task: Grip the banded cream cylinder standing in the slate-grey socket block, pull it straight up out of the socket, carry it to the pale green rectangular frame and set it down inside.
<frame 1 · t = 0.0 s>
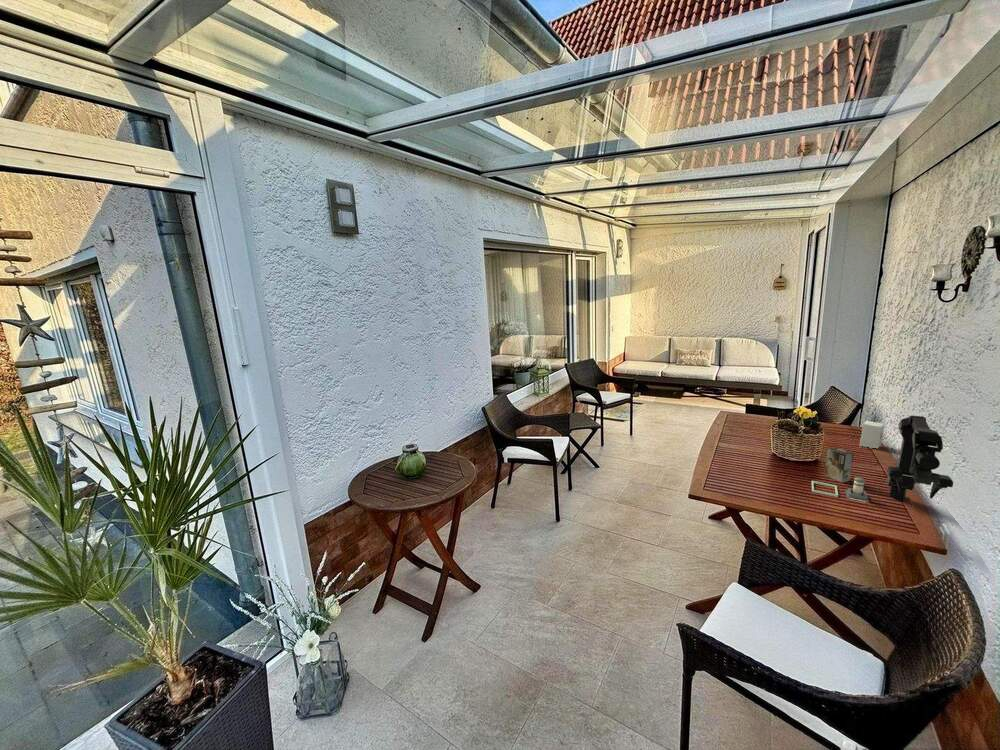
hand: (915, 495, 173), 15 cm above the table, fingers open, 9 cm apart
supplement box: (870, 446, 259), on the table
pale green rectangular frame: (824, 491, 207), on the table
coffee box: (836, 479, 219), on the table
banded cream cylinder: (856, 496, 200), point 1 cm above the table, touching socket block
socket block: (856, 497, 200), on the table
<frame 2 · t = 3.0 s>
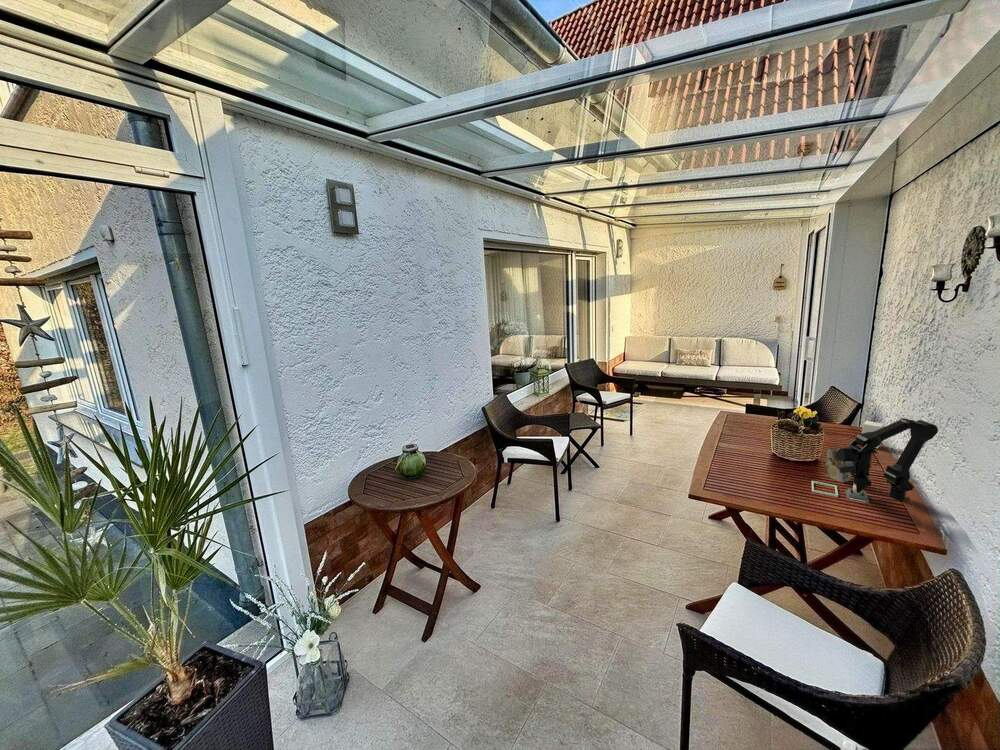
hand: (857, 491, 199), 4 cm above the table, fingers closed on banded cream cylinder, 4 cm apart
banded cream cylinder: (856, 496, 200), point 1 cm above the table, touching gripper, socket block
everything else where it was.
when the fingers open (4 cm above the table, at t = 6.6 s): banded cream cylinder stays where it is, resting on pale green rectangular frame.
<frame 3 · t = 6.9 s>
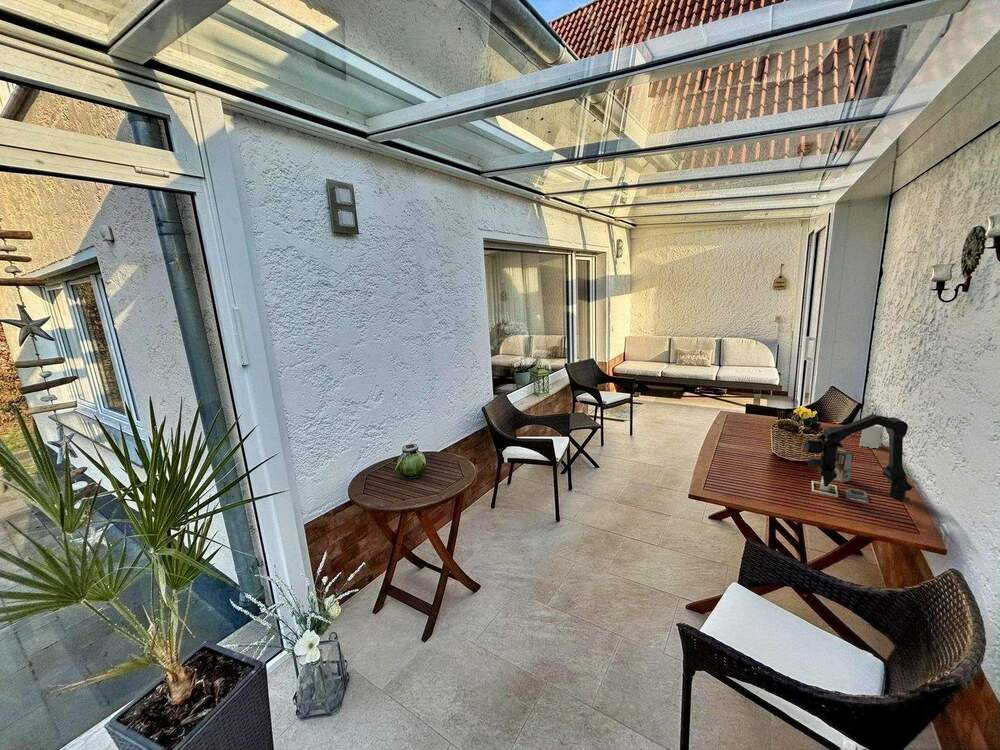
hand: (825, 483, 206), 4 cm above the table, fingers open, 7 cm apart
banded cream cylinder: (824, 490, 207), point 1 cm above the table, touching pale green rectangular frame
everything else where it was.
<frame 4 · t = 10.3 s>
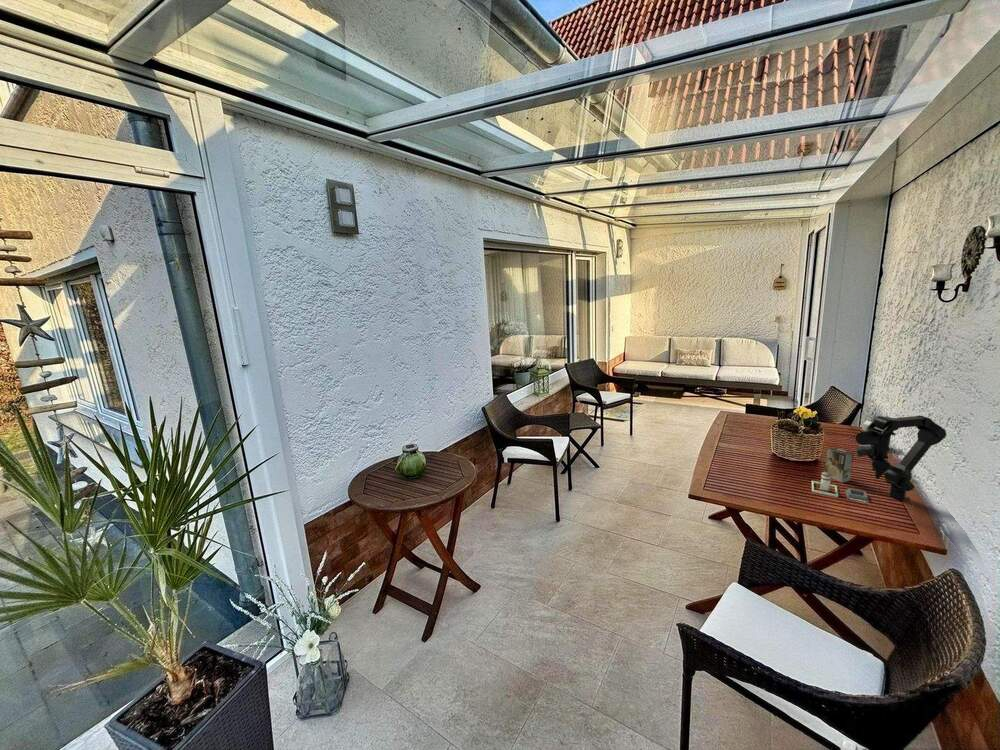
hand: (875, 474, 195), 13 cm above the table, fingers open, 9 cm apart
nothing on the table moved.
at the end: banded cream cylinder inside the target area on the pale green rectangular frame (0.0 cm from its centre), point 0.5 cm above the pale green rectangular frame's base; the gripper is holding nothing; banded cream cylinder touching pale green rectangular frame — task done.
